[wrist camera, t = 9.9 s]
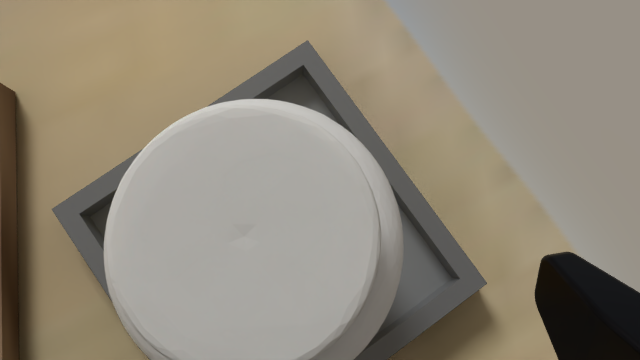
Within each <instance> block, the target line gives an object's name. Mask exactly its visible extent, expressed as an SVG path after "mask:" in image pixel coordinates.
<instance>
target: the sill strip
mask: <svg viewBox="0 0 640 360" xmlns="http://www.w3.org/2000/svg"><path fill="white" fill-rule="evenodd" d="M0 360H19V318H18V248H17V177H16V107H15V92H14V91H13V90H11V89H9V88H8V87H6V86H5V85H3V84H1V83H0Z"/></svg>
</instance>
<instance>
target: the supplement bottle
mask: <svg viewBox="0 0 640 360" xmlns="http://www.w3.org/2000/svg"><path fill="white" fill-rule="evenodd" d="M402 264H403V230H402V222H401V217H400V213H399V208H398V204H397V201H396V199H395V196H394V193H393V191H392V188H391V186H390V184H389V181H388V179H387V177H386V176H385V174H384V172H383V170H382V168H381V167H380V165H379V164H378V163H377V161H376V160H375V158H374V157H373V156H372V154H371V153H370V152H369V151H368V150H367V148H366V147H365V146H364V145H363V144H362V143H361V142H360V141H359V140H358V139H357V138H356V137H355V136H354V135H353V134H352V133H350V132H349V131H348V130H346V129H345V128H344V127H343V126H341V125H340V124H338V123H336V122H335V121H333V120H332V119H330V118H328V117H327V116H325V115H324V114H321V113H319V112H317V111H314V110H312V109H309V108H306V107H303V106H300V105H297V104H293V103H289V102H284V101H279V100H270V99H241V100H234V101H228V102H222V103H218V104H214V105H211V106H208V107H205V108H202V109H200V110H198V111H196V112H193V113H191V114H189V115H187V116H185V117H183V118H181V119H179V120H178V121H176V122H174V123H173V124H172V125H170V126H169V127H167V128H166V129H165V130H163V131H162V132H161V133H160V134H158V135H157V136H156V137H155V138H154V139H153V140H152V141H151V142H150V143H148V145H147V146H146V147H145V148H144V149H143V150H142V151H141V152H140V153H139V155H138V156H137V157H136V158H135V160H134V161H133V162H132V164H131V165H130V167H129V168H128V170H127V171H126V173H125V174H124V176H123V178H122V180H121V181H120V184H119V186H118V188H117V191H116V193H115V195H114V198H113V201H112V204H111V207H110V211H109V214H108V218H107V223H106V230H105V237H104V267H105V275H106V281H107V286H108V290H109V294H110V297H111V299H112V302H113V305H114V307H115V310H116V312H117V314H118V316H119V318H120V320H121V322H122V324H123V326H124V327H125V329H126V331H127V332H128V334H129V335H130V337H131V338H132V340H133V341H134V342H135V343H136V345H137V346H138V347H139V348H140V349H141V351H142V352H143V353H144V354H145V355H146V356H147V357H148V358H149V359H150V360H354V359H355V358H356V357H357V356H358V355H359V354H360V353H361V352H362V351H363V350H364V348H365V347H366V346H367V345H368V344H369V342H370V341H371V340H372V338H373V337H374V336H375V334H376V333H377V332H378V330H379V328H380V327H381V325H382V323H383V322H384V320H385V319H386V317H387V315H388V312H389V310H390V308H391V306H392V304H393V301H394V299H395V296H396V292H397V288H398V285H399V281H400V276H401V270H402Z"/></svg>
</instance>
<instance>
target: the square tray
mask: <svg viewBox="0 0 640 360" xmlns="http://www.w3.org/2000/svg"><path fill="white" fill-rule="evenodd" d="M241 99H270V100H279V101H284V102H289V103H293V104H297V105H300V106H303V107H306V108H309V109H312V110H314V111H317V112H319V113H321V114H324V115H325V116H327V117H328V118H330V119H332V120H333V121H335V122H336V123H338V124H340V125H341V126H343V127H344V128H345V129H346V130H348V131H349V132H350V133H352V134H353V135H354V136H355V137H356V138H357V139H358V140H359V141H360V142H361V143H362V144H363V145H364V146H365V147H366V148H367V150H368V151H369V152H370V153H371V154H372V156H373V157H374V158H375V160H376V161H377V163H378V164H379V165H380V167H381V168H382V170H383V172H384V174H385V176H386V177H387V179H388V181H389V184H390V186H391V188H392V191H393V193H394V196H395V199H396V201H397V204H398V208H399V213H400V217H401V222H402V230H403V264H402V270H401V276H400V281H399V285H398V288H397V292H396V296H395V299H394V301H393V304H392V306H391V308H390V310H389V312H388V315H387V317H386V319H385V320H384V322H383V323H382V325H381V327H380V328H379V330H378V332H377V333H376V334H375V336H374V337H373V338H372V340H371V341H370V342H369V344H368V345H367V346H366V347H365V348H364V350H363V351H362V352H361V353H360V354H359V355H358V356H357V357H356V358H355V359H354V360H387V359H388V358H390V357H391V356H392V355H394V354H395V353H396V352H397V351H399V350H400V349H401V348H403V347H404V346H405V345H407V344H408V343H409V342H411V341H412V340H413V339H415V338H416V337H417V336H419V335H420V334H421V333H422V332H424V331H425V330H426V329H428V328H429V327H430V326H432V325H433V324H434V323H436V322H437V321H438V320H440V319H441V318H442V317H444V316H445V315H446V314H448V313H449V312H450V311H451V310H453V309H454V308H455V307H457V306H458V305H459V304H461V303H462V302H463V301H465V300H466V299H467V298H469V297H470V296H471V295H473V294H474V293H475V292H476V291H478V290H479V289H480V288H482V287H483V286H484V285H486V284H487V282H486V281H485V280H484V278H483V277H482V276H481V274H480V273H479V272H478V270H477V269H476V267H475V266H474V265H473V263H472V262H471V261H470V259H469V258H468V257H467V255H466V254H465V253H464V251H463V250H462V249H461V247H460V246H459V244H458V243H457V242H456V240H455V239H454V238H453V236H452V235H451V234H450V232H449V231H448V230H447V228H446V227H445V226H444V224H443V223H442V221H441V220H440V219H439V217H438V216H437V215H436V213H435V212H434V211H433V209H432V208H431V207H430V205H429V204H428V202H427V201H426V200H425V198H424V197H423V196H422V194H421V193H420V192H419V190H418V189H417V188H416V186H415V185H414V184H413V182H412V181H411V179H410V178H409V177H408V175H407V174H406V173H405V171H404V170H403V169H402V167H401V166H400V165H399V163H398V162H397V160H396V159H395V158H394V156H393V155H392V154H391V152H390V151H389V150H388V148H387V147H386V146H385V144H384V143H383V142H382V140H381V139H380V137H379V136H378V135H377V133H376V132H375V131H374V129H373V128H372V127H371V125H370V124H369V123H368V121H367V120H366V119H365V117H364V116H363V114H362V113H361V112H360V110H359V109H358V108H357V106H356V105H355V104H354V102H353V101H352V100H351V98H350V97H349V95H348V94H347V93H346V91H345V90H344V89H343V87H342V86H341V85H340V83H339V82H338V81H337V79H336V78H335V77H334V75H333V74H332V72H331V71H330V70H329V68H328V67H327V66H326V64H325V63H324V62H323V60H322V59H321V58H320V56H319V55H318V53H317V52H316V51H315V49H314V48H313V47H312V45H311V44H310V43H309V41H308V40H307V41H306V42H304V43H303V44H301V45H300V46H298V47H297V48H295V49H294V50H292V51H291V52H289V53H288V54H286V55H284V56H283V57H281V58H280V59H278V60H277V61H275V62H274V63H272V64H271V65H269V66H268V67H266V68H265V69H263V70H262V71H260V72H259V73H257V74H256V75H254V76H253V77H251V78H250V79H248V80H247V81H245V82H244V83H242V84H241V85H239V86H238V87H236V88H234V89H233V90H231V91H230V92H228V93H227V94H225V95H224V96H222V97H221V98H219V99H218V100H216V101H215V102H213V103H212V104H210V105H209V106H211V105H214V104H218V103H222V102H228V101H234V100H241ZM207 107H208V106H207ZM142 150H143V149H142ZM142 150H141V151H142ZM141 151H139V152H138V153H136V154H135V155H133V156H131V157H130V158H128V159H127V160H125V161H124V162H122V163H121V164H119V165H118V166H116V167H115V168H113V169H112V170H110V171H109V172H107V173H106V174H104V175H103V176H101V177H100V178H98V179H97V180H95V181H94V182H92V183H91V184H89V185H88V186H86V187H85V188H83V189H81V190H80V191H78V192H77V193H75V194H74V195H72V196H71V197H69V198H68V199H66V200H65V201H63V202H62V203H60V204H59V205H57V206H56V207H54V208H53V209H52V211H53V212H54V214H55V215H56V217H57V218H58V220H59V221H60V223H61V224H62V226H63V227H64V229H65V230H66V232H67V234H68V235H69V237H70V238H71V240H72V241H73V243H74V244H75V246H76V247H77V249H78V250H79V252H80V253H81V255H82V257H83V258H84V260H85V261H86V263H87V264H88V266H89V267H90V269H91V270H92V272H93V273H94V275H95V277H96V278H97V280H98V281H99V283H100V284H101V286H102V287H103V289H104V290H105V292H106V293H107V295H108V296H109V298H110V300H111V301H112V299H111V297H110V294H109V290H108V286H107V281H106V275H105V267H104V237H105V230H106V223H107V218H108V214H109V211H110V207H111V204H112V201H113V198H114V195H115V193H116V191H117V188H118V186H119V184H120V181H121V180H122V178H123V176H124V174H125V173H126V171H127V170H128V168H129V167H130V165H131V164H132V162H133V161H134V160H135V158H136V157H137V156H138V155H139V153H140V152H141ZM112 303H113V302H112Z"/></svg>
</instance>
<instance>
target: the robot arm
mask: <svg viewBox="0 0 640 360" xmlns="http://www.w3.org/2000/svg"><path fill="white" fill-rule="evenodd" d="M535 301H536V305H537V308H538V311H539V313H540V316H541V318H542V320H543V323H544V325H545V328H546V330H547V333H548V335H549V338H550V340H551V342H552V345H553V347H554V350H555V352H556V355H557V357H558V360H640V293H639V292H637V291H636V290H634V289H633V288H631V287H629V286H627V285H626V284H624V283H623V282H621V281H619V280H617V279H616V278H614V277H612V276H611V275H609V274H608V273H606V272H604V271H603V270H601V269H599V268H598V267H596V266H594V265H593V264H591V263H589V262H587V261H586V260H584V259H583V258H581V257H579V256H577V255H576V254H574V253H571V252H562V253H556V254H550V255H546V256H544V257H543V259H542V260H541V263H540V268H539V273H538V278H537V283H536V288H535Z"/></svg>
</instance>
